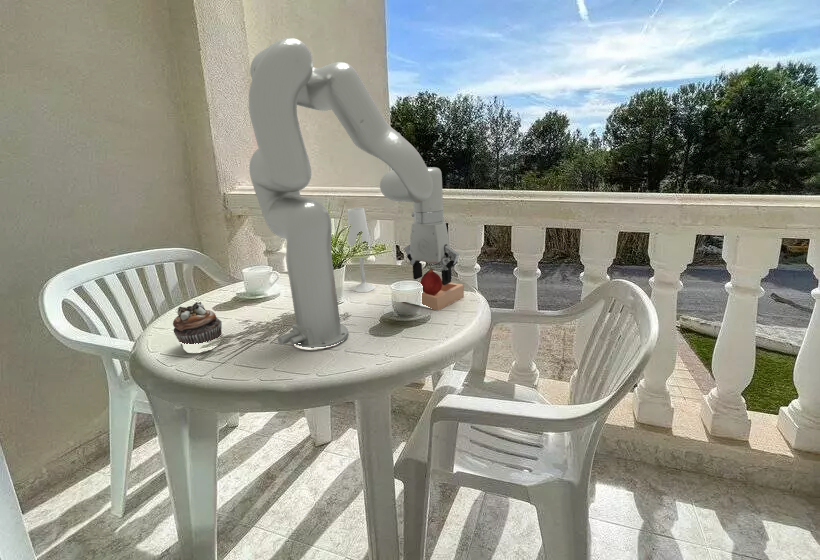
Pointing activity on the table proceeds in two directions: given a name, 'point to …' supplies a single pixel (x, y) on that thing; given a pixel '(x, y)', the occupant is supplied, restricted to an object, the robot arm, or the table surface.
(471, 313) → the table surface
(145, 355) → the table surface
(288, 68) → the robot arm
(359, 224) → the white table lamp
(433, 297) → the tray
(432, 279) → the onion
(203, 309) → the cupcake
